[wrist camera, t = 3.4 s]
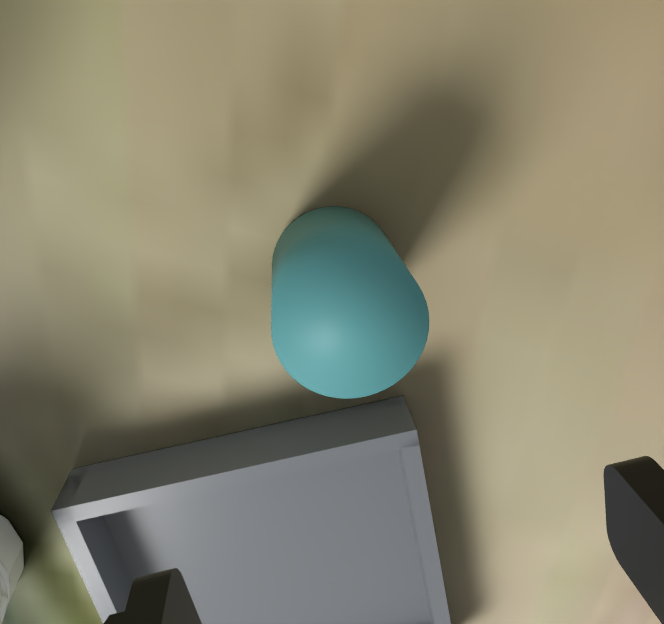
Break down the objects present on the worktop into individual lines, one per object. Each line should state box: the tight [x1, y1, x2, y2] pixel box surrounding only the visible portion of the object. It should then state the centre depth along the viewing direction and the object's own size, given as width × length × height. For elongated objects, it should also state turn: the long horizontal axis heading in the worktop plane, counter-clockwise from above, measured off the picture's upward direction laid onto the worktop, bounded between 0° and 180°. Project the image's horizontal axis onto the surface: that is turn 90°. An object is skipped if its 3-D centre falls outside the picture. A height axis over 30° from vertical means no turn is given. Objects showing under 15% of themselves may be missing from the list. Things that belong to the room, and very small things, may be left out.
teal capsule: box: [271, 206, 429, 399], centre depth 24 cm, size 5×5×7 cm
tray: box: [51, 396, 451, 624], centre depth 31 cm, size 16×16×3 cm
